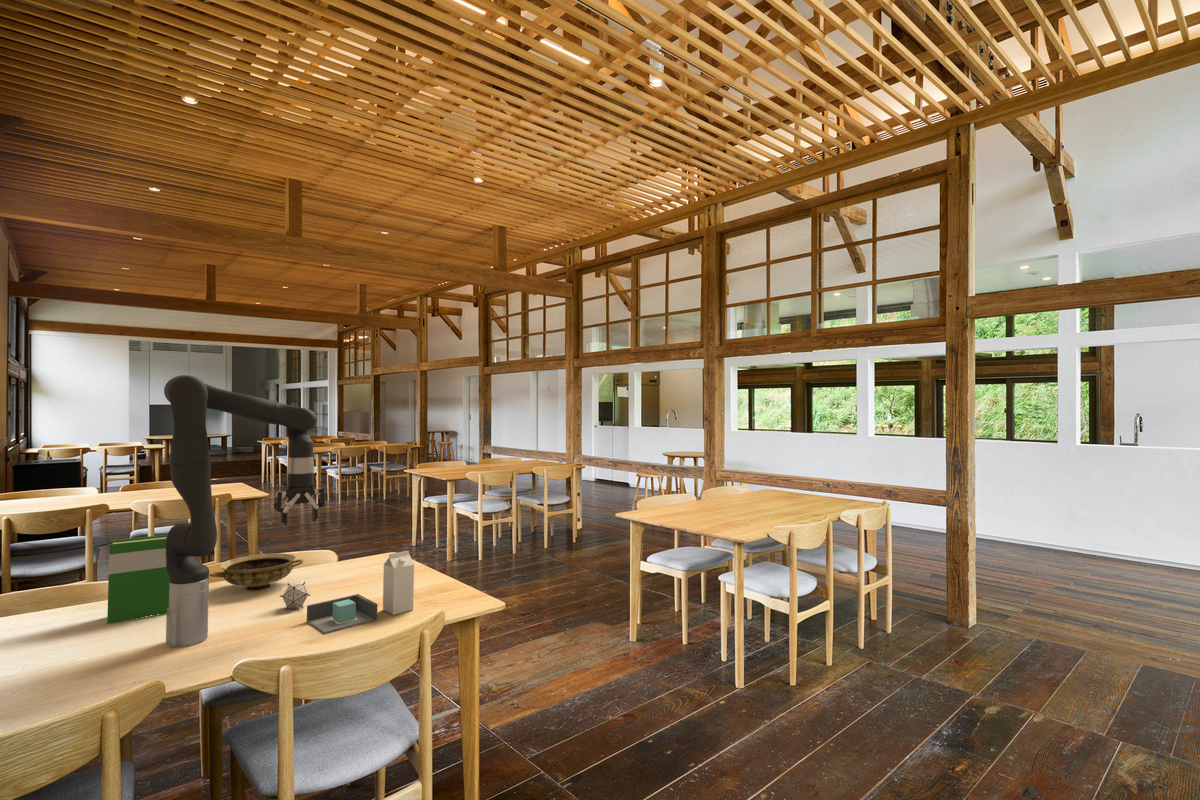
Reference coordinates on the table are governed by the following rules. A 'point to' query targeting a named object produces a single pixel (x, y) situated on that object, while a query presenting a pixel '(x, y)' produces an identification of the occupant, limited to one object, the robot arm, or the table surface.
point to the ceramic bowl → (257, 570)
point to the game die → (295, 595)
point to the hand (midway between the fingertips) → (299, 522)
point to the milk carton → (398, 583)
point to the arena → (323, 614)
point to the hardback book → (137, 578)
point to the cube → (344, 611)
